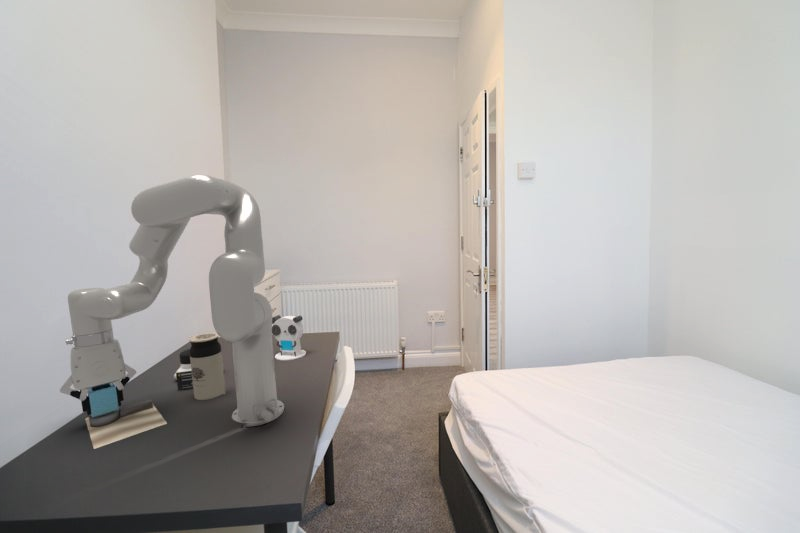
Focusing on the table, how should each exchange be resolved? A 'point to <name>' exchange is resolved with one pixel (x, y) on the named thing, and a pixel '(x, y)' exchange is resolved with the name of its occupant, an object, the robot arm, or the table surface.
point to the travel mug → (206, 366)
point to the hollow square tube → (103, 399)
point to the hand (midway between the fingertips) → (104, 408)
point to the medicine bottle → (184, 372)
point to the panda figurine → (288, 336)
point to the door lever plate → (123, 423)
